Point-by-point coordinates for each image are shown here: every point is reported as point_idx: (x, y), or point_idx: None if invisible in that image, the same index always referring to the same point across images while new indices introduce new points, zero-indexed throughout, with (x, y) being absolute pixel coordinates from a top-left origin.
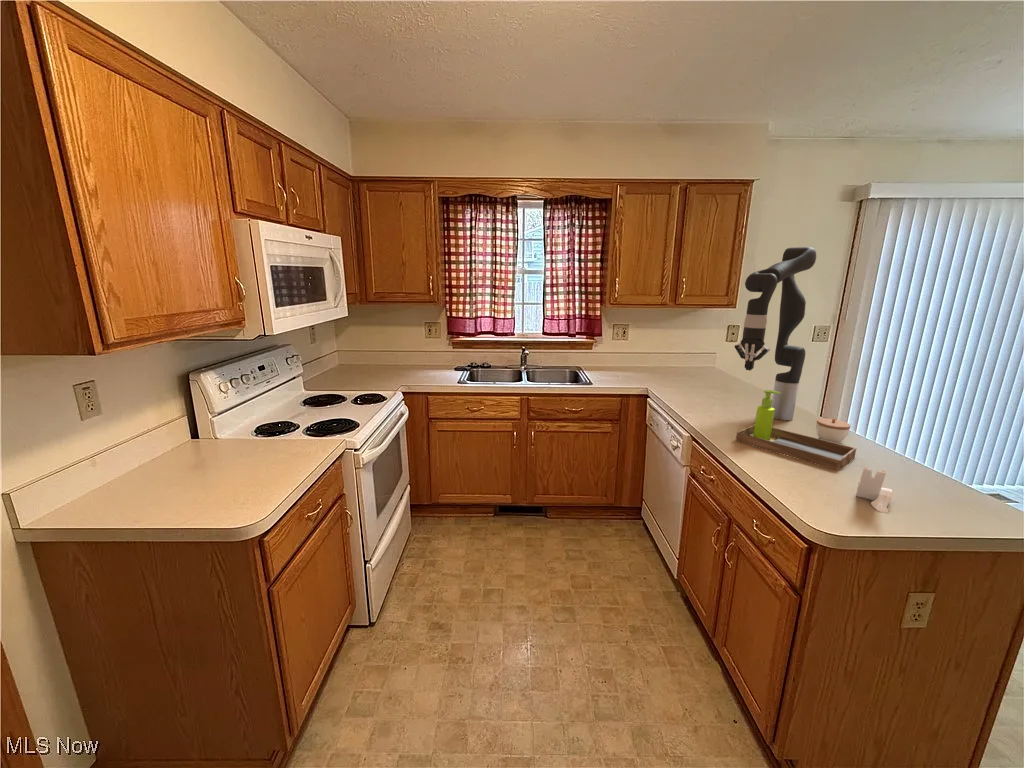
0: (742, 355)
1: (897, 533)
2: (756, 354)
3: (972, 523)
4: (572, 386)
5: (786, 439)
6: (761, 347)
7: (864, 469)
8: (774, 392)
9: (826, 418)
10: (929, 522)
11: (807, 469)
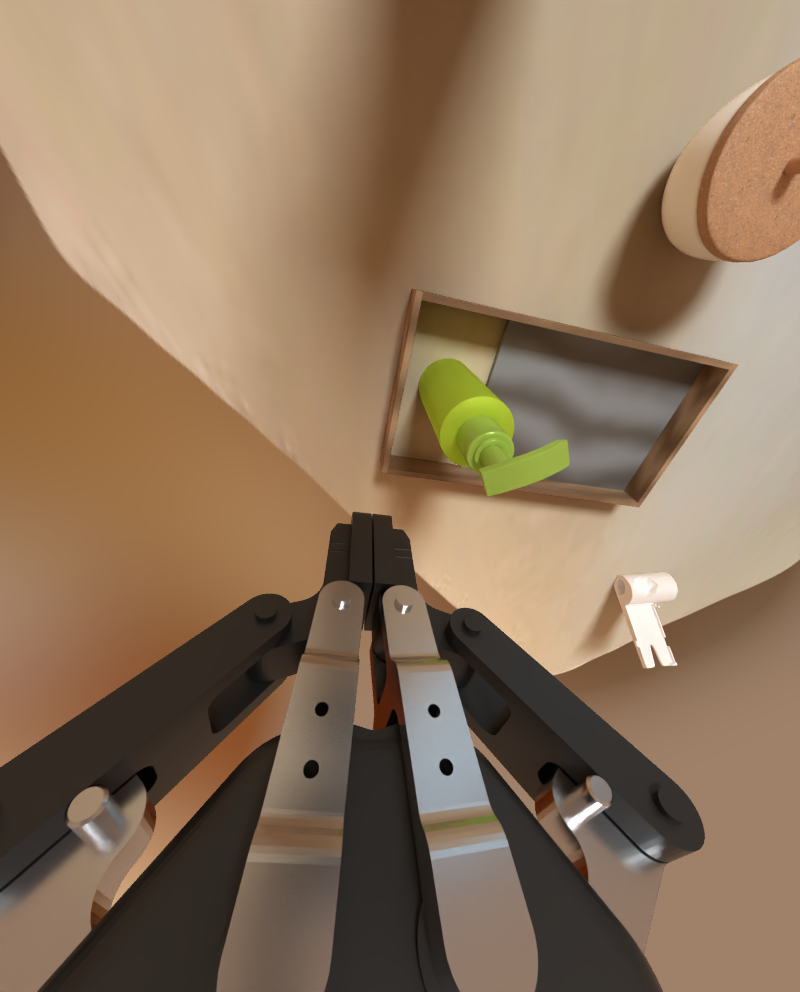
0: (263, 691)
1: (626, 641)
2: (444, 672)
3: (752, 568)
4: None
5: (526, 337)
6: (561, 873)
7: (644, 666)
8: (537, 478)
9: (795, 69)
10: (686, 598)
11: (555, 529)
